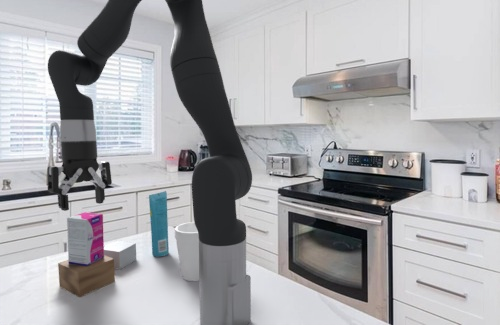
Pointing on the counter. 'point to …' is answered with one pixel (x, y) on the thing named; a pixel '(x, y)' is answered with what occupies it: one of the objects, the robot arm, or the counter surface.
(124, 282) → the counter surface
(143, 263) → the counter surface
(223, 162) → the robot arm
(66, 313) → the counter surface
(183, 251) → the foam cup
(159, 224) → the tube
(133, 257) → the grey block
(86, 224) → the supplement box
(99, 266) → the walnut block
